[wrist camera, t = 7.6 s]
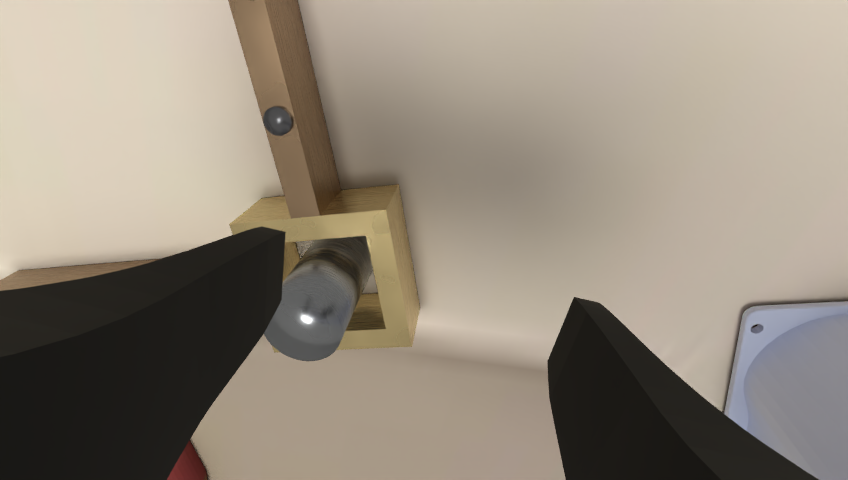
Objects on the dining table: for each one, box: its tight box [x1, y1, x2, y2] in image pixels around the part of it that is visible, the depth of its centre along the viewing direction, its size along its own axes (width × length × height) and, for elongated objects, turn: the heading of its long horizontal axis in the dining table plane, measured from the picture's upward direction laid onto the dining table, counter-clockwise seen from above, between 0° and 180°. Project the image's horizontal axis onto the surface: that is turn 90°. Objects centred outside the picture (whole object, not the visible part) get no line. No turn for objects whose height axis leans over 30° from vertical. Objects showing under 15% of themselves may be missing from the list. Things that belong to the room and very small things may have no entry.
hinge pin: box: [264, 236, 373, 361], centre depth 19 cm, size 3×3×6 cm
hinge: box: [0, 0, 420, 352], centre depth 18 cm, size 22×22×3 cm
